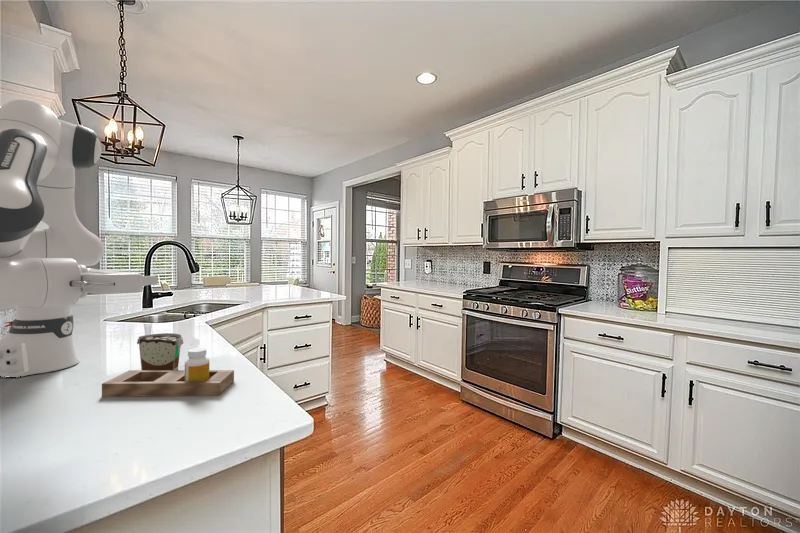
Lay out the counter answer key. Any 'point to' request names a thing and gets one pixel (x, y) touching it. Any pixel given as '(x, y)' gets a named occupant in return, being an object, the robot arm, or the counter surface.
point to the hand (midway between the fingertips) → (144, 278)
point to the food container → (160, 351)
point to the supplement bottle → (197, 365)
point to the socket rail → (166, 383)
